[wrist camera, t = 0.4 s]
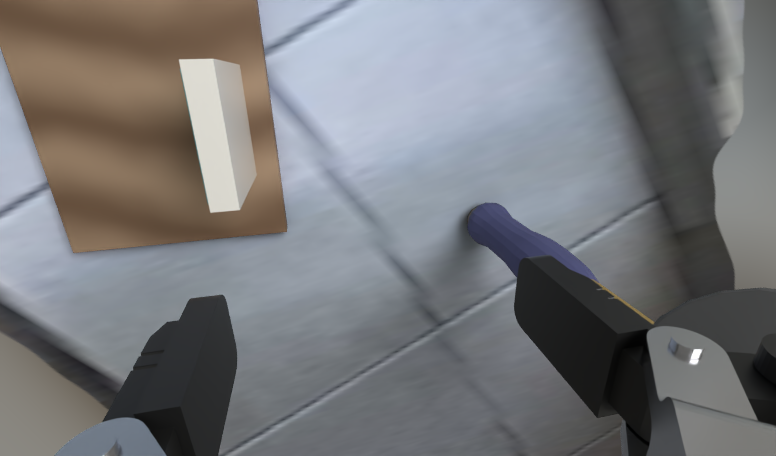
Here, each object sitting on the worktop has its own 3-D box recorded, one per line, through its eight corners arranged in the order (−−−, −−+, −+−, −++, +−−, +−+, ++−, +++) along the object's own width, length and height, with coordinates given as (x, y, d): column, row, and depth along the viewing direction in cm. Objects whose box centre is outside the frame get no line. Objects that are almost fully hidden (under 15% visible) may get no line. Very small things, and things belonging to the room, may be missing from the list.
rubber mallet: (412, 198, 35) (794, 617, 8) (475, 142, 35) (1135, 384, 7) (485, 282, 40) (880, 722, 13) (542, 234, 40) (1088, 590, 12)
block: (213, 65, 27) (175, 59, 19) (239, 64, 28) (213, 58, 20) (233, 176, 30) (207, 213, 22) (256, 174, 31) (239, 210, 22)
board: (-9, -15, 25) (-24, -19, 23) (255, -13, 27) (253, -17, 26) (81, 246, 31) (73, 252, 30) (287, 226, 34) (286, 231, 33)
